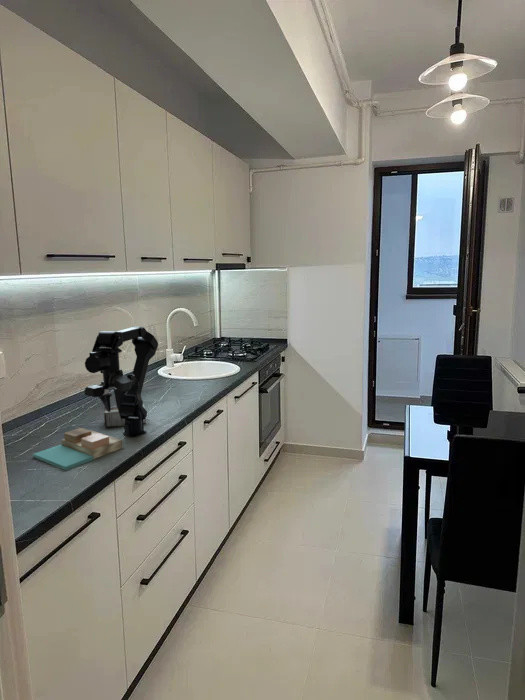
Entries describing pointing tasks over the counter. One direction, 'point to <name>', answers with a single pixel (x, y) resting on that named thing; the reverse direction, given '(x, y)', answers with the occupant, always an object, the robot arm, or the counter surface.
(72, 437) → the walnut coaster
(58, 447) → the mat
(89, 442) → the blush pink tile
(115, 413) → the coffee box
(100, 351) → the robot arm
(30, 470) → the counter surface
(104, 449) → the deck
